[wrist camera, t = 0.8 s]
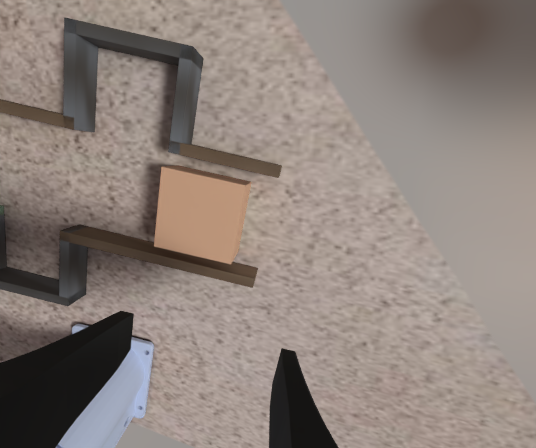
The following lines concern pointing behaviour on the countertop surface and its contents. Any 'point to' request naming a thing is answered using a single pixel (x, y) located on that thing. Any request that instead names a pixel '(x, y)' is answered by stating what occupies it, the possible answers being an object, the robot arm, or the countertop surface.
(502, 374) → the countertop surface
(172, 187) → the light orange-tan block
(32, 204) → the countertop surface
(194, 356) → the countertop surface
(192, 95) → the box
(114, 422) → the robot arm
